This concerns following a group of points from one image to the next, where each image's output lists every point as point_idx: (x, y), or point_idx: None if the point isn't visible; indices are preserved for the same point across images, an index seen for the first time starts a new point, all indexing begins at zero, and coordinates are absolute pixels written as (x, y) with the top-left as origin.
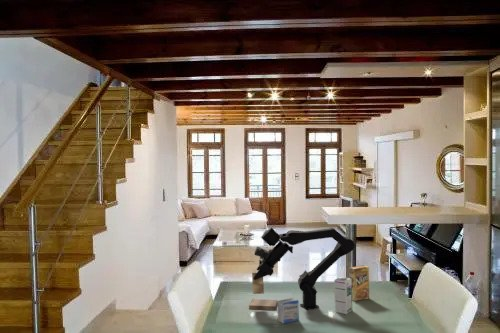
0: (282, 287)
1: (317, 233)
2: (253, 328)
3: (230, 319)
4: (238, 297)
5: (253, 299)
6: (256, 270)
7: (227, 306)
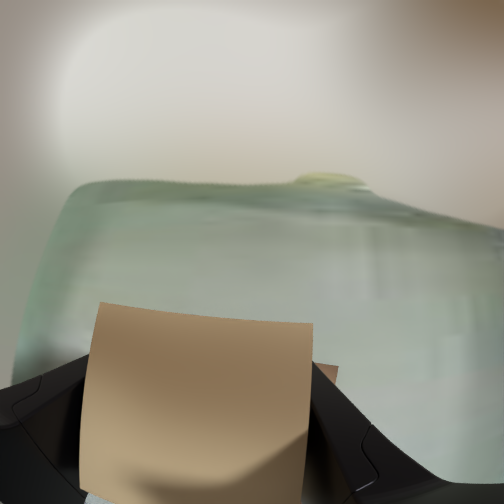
0: (498, 473)
1: None
2: (21, 325)
3: (108, 250)
4: (401, 291)
5: (328, 374)
6: (261, 414)
7: (270, 239)
